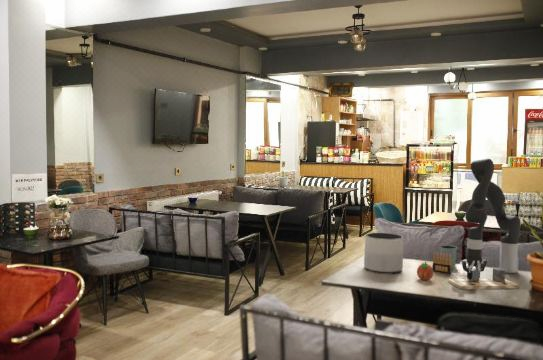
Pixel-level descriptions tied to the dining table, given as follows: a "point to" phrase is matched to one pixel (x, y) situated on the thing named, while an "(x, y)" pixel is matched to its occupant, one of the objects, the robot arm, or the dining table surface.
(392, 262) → the planter
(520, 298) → the dining table surface
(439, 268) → the ammunition clip
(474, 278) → the slider
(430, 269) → the fruit
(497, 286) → the gauge board
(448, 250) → the grey cup
